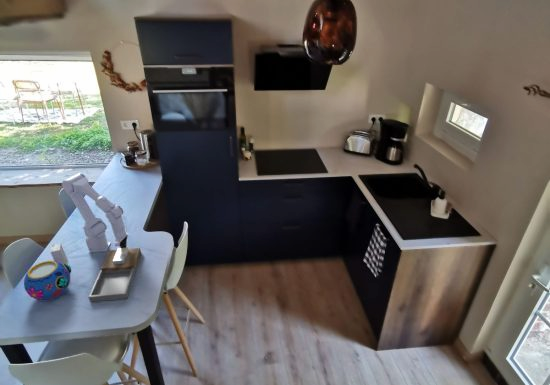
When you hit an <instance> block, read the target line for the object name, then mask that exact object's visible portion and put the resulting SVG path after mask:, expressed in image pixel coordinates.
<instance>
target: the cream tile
mask: <svg viewBox="0 0 550 385" xmlns="http://www.w3.org/2000/svg"><path fill="white" fill-rule="evenodd" d="M128 249H129V248H128V247H126V248H121V247H117V249H116V250H117V252H116V254H115V255H117V254H126V256H127V254H128V251H129V250H128Z"/></svg>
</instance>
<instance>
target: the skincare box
mask: <svg viewBox="0 0 550 385" xmlns="http://www.w3.org/2000/svg"><path fill="white" fill-rule="evenodd" d="M50 254H51V256H52V260H53V261H56V262H59V263H61V264H68V265H69V260H68V257H67V255H66V252H65V250H64V247H63V245H62V243H57V244H53V245H51V247H50Z"/></svg>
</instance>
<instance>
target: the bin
mask: <svg viewBox="0 0 550 385" xmlns="http://www.w3.org/2000/svg"><path fill="white" fill-rule="evenodd" d="M136 272H137V270H136V271H135V269H134V268H132V269H127V270H115V271H103V272H102V270H101V269H100V270H99V272H98V274H97V278H96V279H95V281H94V284H93V285H92V288H91V290H90V293H89V295H88V299H89V302H90V303H98V302H99V303H100V302H108V301H110V302H111V301H121V300H128V297H129V294H130V291H131V287H132V285H131V284H133V282H132V281H134V279H133V278H135V274H136Z"/></svg>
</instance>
